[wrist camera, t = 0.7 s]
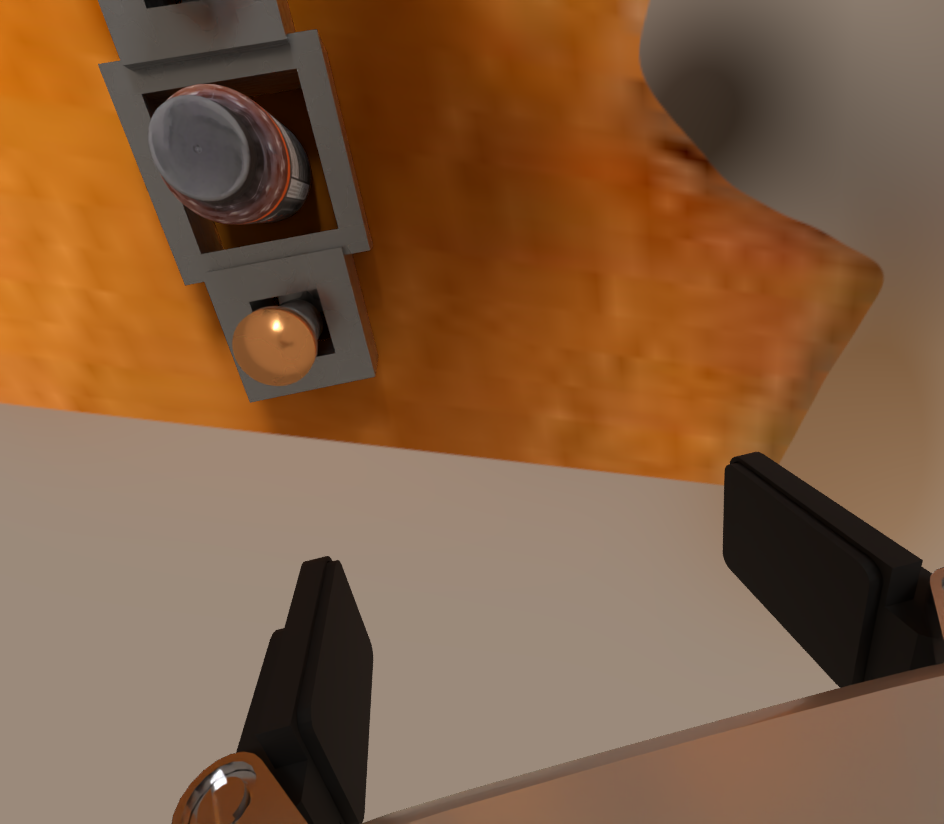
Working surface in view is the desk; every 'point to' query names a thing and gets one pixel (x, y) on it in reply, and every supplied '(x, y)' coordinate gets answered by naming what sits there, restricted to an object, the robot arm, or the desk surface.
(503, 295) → the desk surface
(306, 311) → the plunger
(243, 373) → the housing
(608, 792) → the robot arm
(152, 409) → the desk surface
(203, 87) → the supplement bottle
